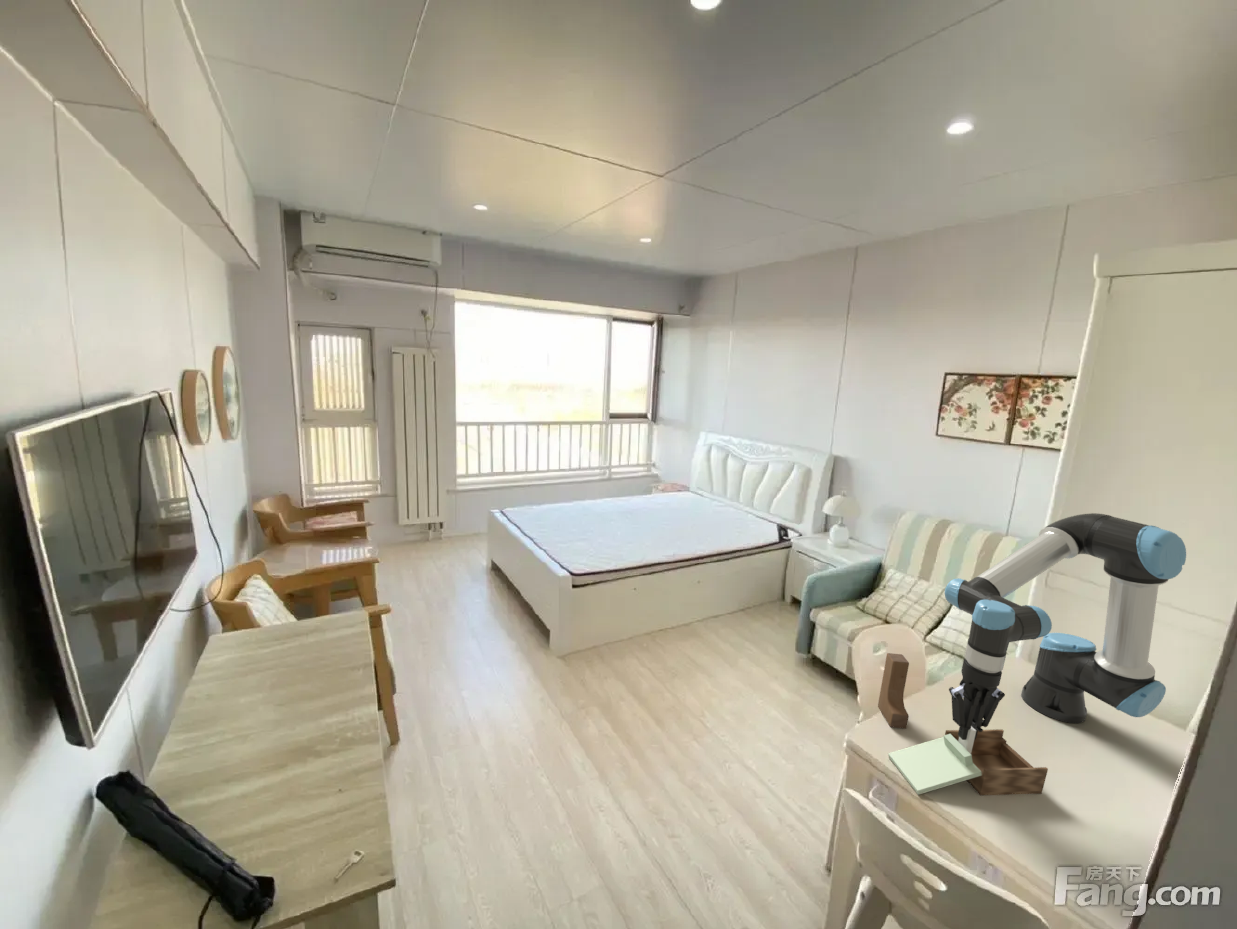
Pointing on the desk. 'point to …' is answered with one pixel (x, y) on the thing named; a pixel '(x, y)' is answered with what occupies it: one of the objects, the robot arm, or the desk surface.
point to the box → (1002, 767)
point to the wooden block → (894, 691)
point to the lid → (935, 764)
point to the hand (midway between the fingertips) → (964, 749)
